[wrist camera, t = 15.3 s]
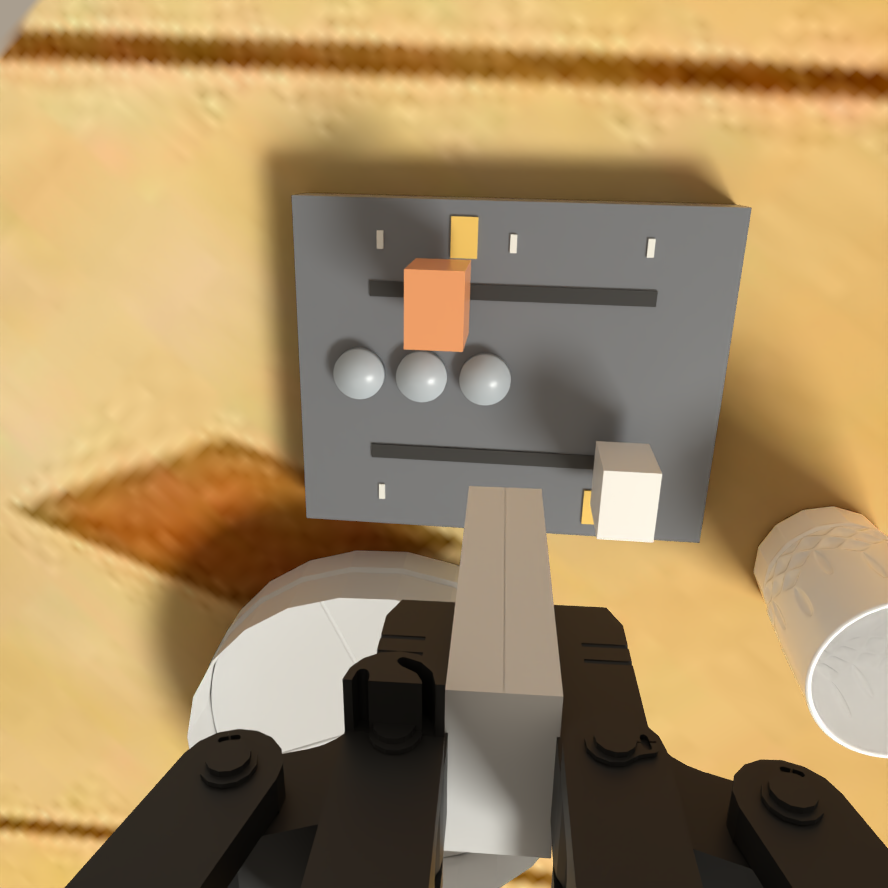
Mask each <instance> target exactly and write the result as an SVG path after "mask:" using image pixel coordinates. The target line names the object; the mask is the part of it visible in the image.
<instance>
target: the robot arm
mask: <svg viewBox="0 0 888 888" xmlns="http://www.w3.org/2000/svg"><path fill="white" fill-rule="evenodd" d="M342 682H343V704H344V727H345V732H344V734H342V735H341V736H340V737H338V738H337V739H335V740H333V741H330V742H328V743H326V744H324V745H321V746H317V747H314V748H310V749H305V750H300V751H294V752H289V753H283V754H282V749H281V748H280V746H279V745H278V744H277V743H276V741H275V740H274V739H273V738H272V737H270V736H268V735H266V734H264V733H261V732H259V731H256V730H245V729H235V730H229V731H224V732H218V733H216V734H214V735H212V736H209V737H207V738H205V739H203V740H200V741H199V742H197V743H196V744H195V745H194V746H193V747H191V748H190V749H189V750H188V751H187V752H185V753H184V754H183V755H182V756H181V758H180V759H179V760H178V761H177V762H176V763H175V764H174V765H173V767H172V768H171V769H170V770H169V771H168V772H167V773H166V774H165V776H164V777H163V778H162V779H161V780H160V781H159V782H158V783H157V784H156V786H155V787H154V788H153V789H152V790H151V791H150V792H149V793H148V795H147V796H146V797H145V798H144V799H143V800H142V801H141V802H140V804H139V805H138V806H137V807H136V808H135V809H134V810H133V811H132V813H131V814H130V815H129V816H128V817H127V818H126V819H125V820H124V822H123V823H122V824H121V825H120V826H119V827H118V828H117V829H116V831H115V832H114V833H113V834H112V835H111V836H110V837H109V838H108V840H107V841H106V842H105V843H104V844H103V845H102V846H101V847H100V848H99V850H98V851H97V852H96V853H95V854H94V855H93V856H92V857H91V859H90V860H89V861H88V862H87V863H86V864H85V865H84V866H83V868H82V869H81V870H80V871H79V872H78V873H77V874H76V875H75V877H74V878H73V879H72V880H71V881H70V882H69V883H68V884H67V886H66V887H65V888H442V887H443V852H444V851H457V852H471V853H485V854H499V855H512V856H526V857H540V858H551V849H552V852H553V873H552V886H551V888H888V848H887V847H886V846H885V845H884V843H883V842H882V841H881V840H880V839H879V837H878V836H877V835H876V834H875V833H874V831H873V830H872V829H871V828H870V827H869V825H868V824H867V823H866V822H865V821H864V819H863V818H862V817H861V816H860V815H859V813H858V812H857V811H856V810H855V809H854V807H853V806H852V805H851V804H850V803H849V801H848V800H847V799H846V798H845V797H844V795H843V794H842V793H841V792H840V791H838V790H837V789H836V788H835V787H834V786H833V785H832V784H831V783H830V782H829V781H827V780H826V779H825V778H823V777H822V776H820V775H818V774H816V773H814V772H813V771H811V770H809V769H807V768H805V767H803V766H799V765H796V764H793V763H789V762H786V761H782V760H758V761H755V762H752V763H748V764H745V765H744V766H743V767H742V768H741V769H740V770H739V771H738V772H737V773H736V774H735V775H734V780H733V781H732V780H728V779H725V778H722V777H718V776H715V775H712V774H709V773H705V772H702V771H700V770H697V769H694V768H692V767H689V766H687V765H685V764H683V763H682V762H680V761H678V760H676V759H675V758H673V757H672V756H670V755H669V754H668V753H667V750H666V749H665V747H664V745H663V743H662V741H661V739H660V737H659V736H658V735H657V734H655V733H654V732H653V731H652V730H651V729H650V728H649V727H648V725H647V721H646V717H645V713H644V709H643V705H642V701H641V697H640V693H639V689H638V685H637V681H636V677H635V673H634V669H633V666H632V661H631V657H630V653H629V649H628V645H627V641H626V637H625V633H624V629H623V625H622V624H621V623H620V622H619V621H618V620H617V619H616V618H615V617H614V616H613V615H612V613H611V612H610V611H609V610H608V609H607V608H603V607H583V606H563V605H554V604H553V594H552V585H551V575H550V566H549V556H548V547H547V537H546V528H545V518H544V509H543V499H542V490H541V489H531V488H506V487H481V486H469V491H468V500H467V508H466V517H465V525H464V534H463V542H462V551H461V560H460V568H459V577H458V585H457V594H456V602H442V601H422V600H401V601H400V602H399V603H398V604H397V605H396V606H395V607H394V608H393V609H392V610H391V611H390V612H389V613H388V614H387V615H386V618H385V622H384V625H383V629H382V633H381V638H380V640H379V644H378V648H377V654H374V655H371V656H368V657H365V658H363V659H361V660H360V661H358V662H357V663H355V664H354V665H353V666H351V667H350V668H349V670H348V671H347V673H346V674H345V676H344V677H343V679H342Z"/></svg>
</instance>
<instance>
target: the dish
mask: <svg viewBox="0 0 888 888" xmlns="http://www.w3.org/2000/svg"><path fill="white" fill-rule="evenodd" d="M459 568H460V566H458V565H455V564H452V563H448V562H444V561H440V560H436V559H433V558H429V557H425V556H421V555H417V554H414V553H410V552H393V551H358V550H357V551H352V552H348V553H343V554H338V555H334V556H329V557H324V558H320V559H315V560H310V561H308V562H306V563H304V564H302V565H301V566H299V567H297V568H295V569H293V570H291V571H289V572H287V573H285V574H283V575H281V576H280V577H278V578H276V579H274V580H272V581H270V582H269V583H268V584H267V585H266V586H265V587H264V588H263V589H262V590H261V591H260V592H259V593H258V594H257V595H256V596H255V597H254V598H253V599H252V600H250V601H249V602H248V603H247V604H246V605H245V606H244V607H243V608H242V609H241V610H240V612H239V613H238V615H237V616H236V618H235V620H234V621H233V623H232V624H231V626H230V628H229V629H228V630H227V632H226V634H225V636H224V638H223V640H222V641H221V643H220V645H219V647H218V649H217V651H216V653H215V655H214V656H213V658H212V660H211V662H210V664H209V668H208V670H207V672H206V674H205V676H204V678H203V680H202V681H201V683H200V685H199V687H198V689H197V691H196V693H195V695H194V696H193V702H192V708H191V715H190V722H189V729H188V736H187V737H188V743H189V749H190V748H191V747H193V746H194V745H195V744H196V743H197V742H199V741H200V740H203V739H205V738H207V737H209V736H212V735H214V734H216V733H218V732H224V731H229V730H235V729H245V730H256V731H259V732H261V733H264V734H266V735H268V736H270V737H272V738H273V739H274V740H275V741H276V743H277V744H278V745H279V746H280V748H281V749H282V754H283V753H289V752H294V751H300V750H305V749H310V748H314V747H317V746H321V745H324V744H326V743H328V742H330V741H333V740H335V739H337V738H338V737H340V736H341V735H342V734H344V732H345V727H344V704H343V682H342V679H343V677H344V676H345V674H346V673H347V671H348V670H349V668H350V667H351V666H353V665H354V664H355V663H357V662H358V661H360V660H361V659H363V658H365V657H368V656H371V655H374V654H377V648H378V644H379V640H380V638H381V633H382V629H383V625H384V622H385V618H386V615H387V614H388V613H389V612H390V611H391V610H392V609H393V608H394V607H395V606H396V605H397V604H398V603H399V602H400V601H401V600H422V601H442V602H456V594H457V585H458V577H459ZM538 859H539V857H526V856H512V855H499V854H485V853H471V852H457V851H444V852H443V887H442V888H500V887H502V886H503V885H505V884H506V883H508V882H509V881H511V880H512V879H514V878H515V877H517V876H518V875H520V874H521V873H523V872H524V871H526V870H527V869H529V868H530V867H532V866H533V865H534V863H535V862H536V861H537V860H538Z"/></svg>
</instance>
